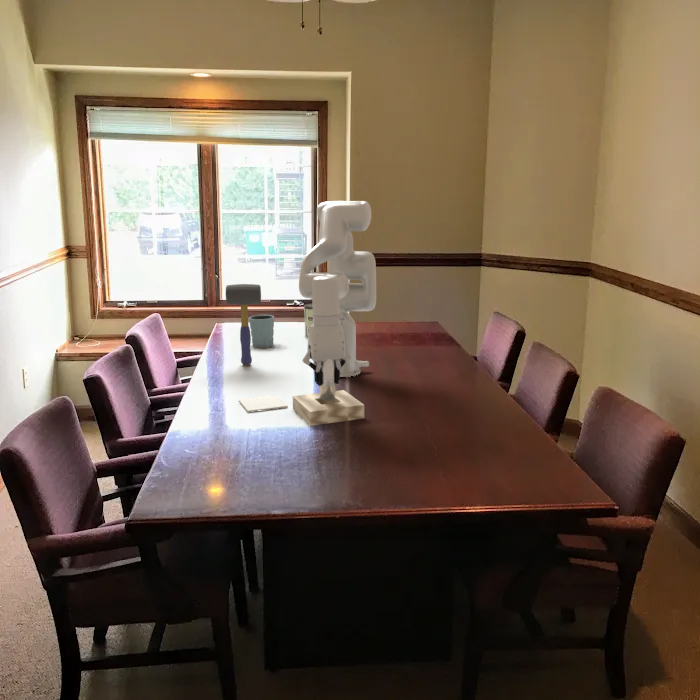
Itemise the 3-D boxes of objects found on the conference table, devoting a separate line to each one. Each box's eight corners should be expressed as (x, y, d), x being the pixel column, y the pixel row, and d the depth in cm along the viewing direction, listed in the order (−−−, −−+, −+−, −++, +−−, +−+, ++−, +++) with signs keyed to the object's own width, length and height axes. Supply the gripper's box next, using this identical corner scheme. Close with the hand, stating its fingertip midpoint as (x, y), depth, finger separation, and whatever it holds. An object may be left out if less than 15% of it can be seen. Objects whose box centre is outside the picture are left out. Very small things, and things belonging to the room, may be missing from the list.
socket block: (343, 402, 213) (343, 390, 212) (364, 418, 199) (364, 404, 198) (292, 409, 207) (292, 396, 207) (310, 425, 193) (310, 411, 192)
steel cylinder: (332, 395, 205) (331, 355, 202) (337, 399, 201) (336, 358, 198) (317, 397, 203) (316, 356, 200) (322, 401, 199) (322, 360, 196)
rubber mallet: (264, 362, 263) (261, 282, 256) (263, 367, 256) (259, 285, 249) (230, 363, 262) (226, 282, 256) (228, 368, 255) (224, 285, 248)
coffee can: (328, 334, 312) (328, 302, 309) (327, 339, 302) (327, 306, 299) (305, 334, 312) (304, 303, 309) (303, 339, 302) (302, 306, 299)
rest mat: (276, 396, 220) (276, 395, 220) (287, 407, 209) (287, 405, 209) (238, 401, 215) (238, 399, 215) (247, 412, 205) (247, 410, 204)
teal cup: (279, 344, 293) (278, 316, 290) (264, 349, 284) (263, 320, 282) (260, 341, 298) (259, 313, 295) (245, 346, 290) (243, 317, 287)
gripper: (349, 316, 203) (349, 377, 207) (293, 320, 197) (295, 383, 201) (359, 320, 197) (359, 383, 201) (301, 325, 190) (303, 390, 194)
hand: (327, 383), depth 201 cm, fingers closed on steel cylinder, 4 cm apart
